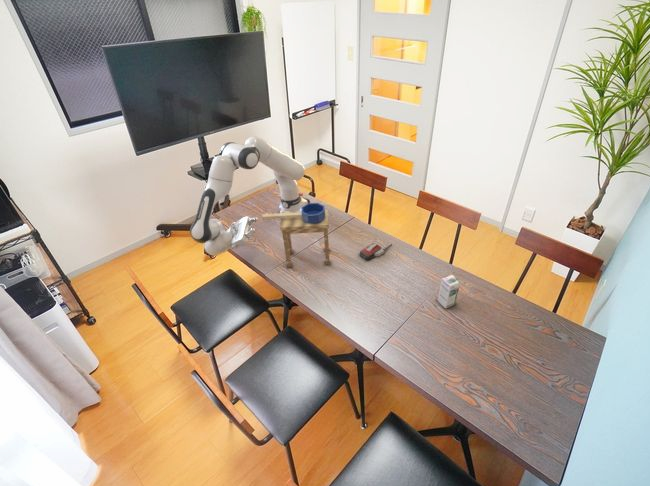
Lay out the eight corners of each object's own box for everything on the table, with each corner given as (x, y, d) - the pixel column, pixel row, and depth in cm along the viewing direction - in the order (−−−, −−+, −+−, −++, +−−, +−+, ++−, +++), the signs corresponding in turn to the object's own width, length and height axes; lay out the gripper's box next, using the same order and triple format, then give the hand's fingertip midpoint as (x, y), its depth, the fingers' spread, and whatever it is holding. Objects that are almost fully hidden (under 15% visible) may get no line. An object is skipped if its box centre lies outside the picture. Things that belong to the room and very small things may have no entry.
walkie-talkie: (369, 263, 173) (393, 247, 184) (369, 257, 171) (393, 241, 182) (357, 256, 178) (381, 240, 190) (357, 249, 176) (382, 234, 187)
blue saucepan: (324, 210, 167) (324, 202, 164) (325, 223, 158) (325, 214, 155) (264, 214, 165) (263, 205, 162) (262, 226, 156) (260, 218, 153)
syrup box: (445, 309, 149) (451, 286, 140) (436, 300, 153) (441, 277, 144) (454, 304, 151) (461, 282, 142) (446, 296, 155) (451, 273, 146)
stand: (286, 268, 171) (279, 227, 155) (288, 251, 182) (282, 211, 166) (330, 265, 172) (328, 224, 157) (329, 248, 184) (327, 209, 168)
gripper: (224, 245, 154) (247, 232, 151) (233, 221, 171) (254, 208, 167) (234, 254, 158) (256, 241, 154) (241, 229, 174) (262, 217, 171)
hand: (255, 224), depth 161 cm, fingers open, 8 cm apart
